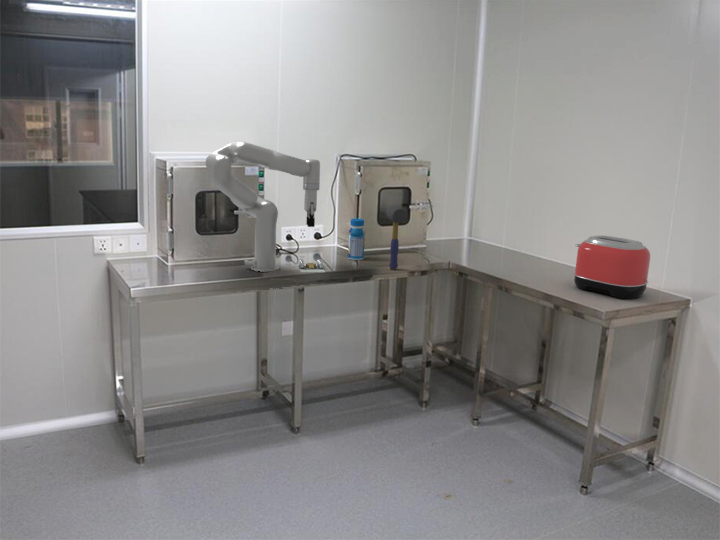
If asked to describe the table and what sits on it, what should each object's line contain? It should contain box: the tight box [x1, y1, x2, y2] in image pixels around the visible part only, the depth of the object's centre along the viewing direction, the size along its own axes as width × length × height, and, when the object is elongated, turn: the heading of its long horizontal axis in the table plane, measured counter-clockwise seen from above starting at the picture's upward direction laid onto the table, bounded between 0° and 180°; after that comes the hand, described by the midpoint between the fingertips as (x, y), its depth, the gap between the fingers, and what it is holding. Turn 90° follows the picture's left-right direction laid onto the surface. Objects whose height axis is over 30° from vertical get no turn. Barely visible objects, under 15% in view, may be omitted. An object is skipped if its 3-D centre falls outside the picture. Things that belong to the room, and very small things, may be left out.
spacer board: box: [298, 265, 326, 273], centre depth 302 cm, size 11×13×1 cm
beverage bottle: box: [347, 218, 366, 261], centre depth 328 cm, size 8×8×20 cm
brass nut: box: [305, 262, 317, 269], centre depth 304 cm, size 5×4×2 cm
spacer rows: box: [298, 258, 324, 270], centre depth 304 cm, size 10×8×3 cm
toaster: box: [573, 235, 651, 300], centre depth 282 cm, size 32×23×23 cm
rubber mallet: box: [385, 204, 408, 271], centre depth 307 cm, size 12×8×30 cm, turn 13°
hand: (310, 225), depth 306 cm, fingers open, 4 cm apart
